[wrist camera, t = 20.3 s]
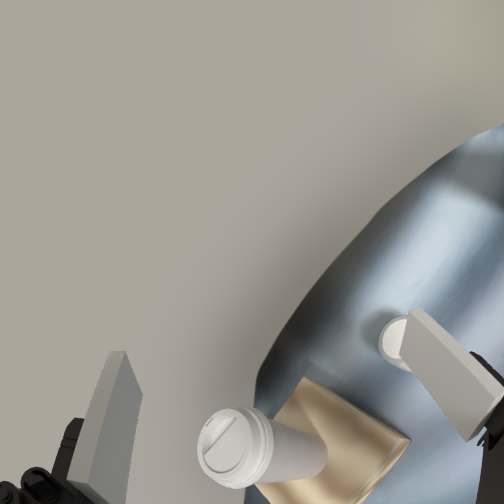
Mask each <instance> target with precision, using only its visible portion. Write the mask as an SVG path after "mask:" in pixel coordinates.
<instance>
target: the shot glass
mask: <svg viewBox="0 0 504 504" xmlns="http://www.w3.org/2000/svg"><path fill="white" fill-rule="evenodd" d="M407 318H408V315H402V316H398V317H395V318H394V319H392V320H391V321H390V322H388V323H387V324H386V325H385V327H384V328H383V330H382V331H381V333H380V336H379V339H378V350H379V352H380V354H381V356H382V357H383V358H384V359H385V360H386V361H388V362H389V363H391V364H393V365H395V366H397V367H399V368H401V369H403V370H405V371H409V372H412V371H411V369H410V368H409V367H408V366H407V364H406V363H405V362H404V361H403V360H402V358H401V357H400V356H399V351H400V347H401V343H402V339H403V335H404V331H405V327H406V322H407Z"/></svg>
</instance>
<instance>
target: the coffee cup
mask: <svg viewBox="0 0 504 504" xmlns="http://www.w3.org/2000/svg"><path fill="white" fill-rule="evenodd" d="M197 449H198V450H197V453H198V459H199V463H200V465H201V467H202V469H203V471H204V472H205V473H206V474H207V475H208V476H210V477H211V478H212V479H214V480H215V481H216V482H218V483H220V484H221V485H223V486H226V487H229V488H234V489H240V488H244V487H247V486H250V485H251V484H261V483H273V482H283V481H292V480H300V479H307V478H311V477H314V476H316V475H317V474H319V473H320V472H321V471H322V470H323V468H324V467H325V465H326V463H327V459H328V450H327V447H326V444H325V443H324V442H323V440H322V439H320V438H319V437H317V436H314V435H311V434H308V433H305V432H302V431H300V430H297V429H294V428H292V427H289V426H286V425H284V424H281V423H279V422H276V421H274V420H271V419H269V418H266V416H265V415H264V414H263V413H262V412H261V411H259V410H258V409H256V408H254V407H250V406H236V407H231V408H229V409H223V410H220V411H218V412H217V413H215V414H214V415H212V417H210V418H209V420H208V421H207V422H206V424H205V425H204V427H203V429H202V431H201V433H200V436H199V440H198V447H197Z"/></svg>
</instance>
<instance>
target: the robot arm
mask: <svg viewBox="0 0 504 504" xmlns="http://www.w3.org/2000/svg"><path fill="white" fill-rule="evenodd" d="M399 356H400V357H401V358H402V360H403V361H404V362H405V363H406V364H407V366H408V367H409V368H410V369H411V371H412V372H413V373H414V374H415V376H416V377H417V378H418V380H419V381H420V382H421V383H422V385H423V386H424V387H425V388H426V390H427V391H428V392H429V394H430V395H431V396H432V397H433V399H434V400H435V401H436V403H437V404H438V405H439V407H440V408H441V409H442V411H443V412H444V413H445V415H446V416H447V417H448V419H449V420H450V421H451V423H452V424H453V425H454V427H455V428H456V429H457V431H458V432H459V433H460V435H461V436H462V438H463V439H464V440H465V442H468V441H469V440H471V439H472V438H474V437H475V436H477V435H478V434H479V433H480V431H481V430H482V428H483V427H484V426H485V427H486V429H487V430H486V432H485V433H484V434H483V436H482V437H481V438H480V440H479V441H478V443H477V446H479V445H480V444H481V442H482V441H483V440H484V443H483V444H482V446H484V448H483V459H482V468H481V475H480V482H479V488H478V494H477V499H476V504H504V378H503V377H502V376H501V375H500V374H499V373H498V372H497V371H496V370H495V369H493V367H492V366H491V365H490V364H487V362H486V361H485V360H484V359H483V358H482V357H481V356H480V355H478V354H476V353H474V352H472V351H471V352H468V351H467V350H466V349H465V348H464V347H463V346H462V345H461V344H460V343H458V342H457V341H456V340H455V339H454V338H453V337H452V336H451V335H450V334H449V333H448V332H447V331H446V330H444V329H443V328H442V327H441V326H440V325H439V324H438V323H437V322H436V321H435V320H433V319H432V318H431V317H430V316H429V315H428V314H427V313H426V312H425V311H423V310H422V309H421V308H419V309H415V310H411V311H409V313H408V318H407V322H406V327H405V331H404V335H403V339H402V343H401V347H400V351H399ZM142 396H143V394H142V392H141V389H140V387H139V384H138V382H137V380H136V377H135V375H134V372H133V370H132V367H131V365H130V362H129V360H128V357H127V354H126V352H125V351H110V353H109V355H108V357H107V360H106V362H105V365H104V367H103V370H102V373H101V375H100V378H99V381H98V383H97V386H96V388H95V391H94V394H93V396H92V399H91V402H90V405H89V408H88V410H87V414H86V417H85V419H82V418H74V419H73V420H72V421H71V422H70V423H69V425H68V426H67V428H66V430H65V433H64V436H63V439H62V441H61V444H60V446H61V447H60V448H59V451H58V453H57V456H56V459H55V463H54V466H53V469H52V473H51V474H50V473H49V472H48V471H47V470H45V469H43V468H40V467H33V468H30V469H28V470H27V471H25V473H24V474H23V476H22V478H21V489H18V488H17V487H16V486H15V485H14V484H12V483H10V482H8V481H2V482H0V504H125V500H126V492H127V484H128V477H129V470H130V463H131V457H132V450H133V444H134V438H135V432H136V426H137V421H138V416H139V411H140V406H141V400H142Z"/></svg>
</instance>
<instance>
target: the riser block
mask: <svg viewBox="0 0 504 504" xmlns="http://www.w3.org/2000/svg"><path fill="white" fill-rule="evenodd" d="M273 420H274V421H276V422H279V423H281V424H284V425H286V426H289V427H292V428H294V429H297V430H300V431H302V432H305V433H308V434H311V435H314V436H317V437H319V438H320V439H322V440H323V442H324V443H325V444H326V447H327V450H328V459H327V463H326V465H325V467H324V468H323V470H322V471H321V472H320V473H319V474H317V475H316V476H314V477H311V478H307V479H300V480H292V481H283V482H273V483H261V484H255V485H256V486H257V488H258V489H259V490H260V491H261V492H262V494H263V495H264V496H265V497H266V498H267V499H268V501H269V502H270V503H271V504H361V503H362V502H363V501H364V500H365V498H366V497H367V496H368V495H369V494H370V493H371V492H372V491H373V489H374V488H375V487H376V486H377V485H378V484H379V482H380V481H381V480H382V479H383V478H384V476H385V475H386V474H387V473H388V471H389V470H390V469H391V468H392V466H393V465H394V464H395V462H396V461H397V460H398V459H399V457H400V456H401V454H402V453H403V452H404V450H405V449H406V448H407V446H408V445H409V443H410V442H411V439H409V438H408V437H406V436H404V435H402V434H401V433H399V432H397V431H395V430H394V429H392V428H390V427H389V426H387V425H385V424H384V423H382V422H380V421H379V420H377V419H376V418H374V417H372V416H371V415H369V414H367V413H366V412H364V411H363V410H361V409H359V408H358V407H356V406H355V405H353V404H352V403H350V402H349V401H347V400H345V399H344V398H342V397H341V396H339V395H338V394H336V393H335V392H333V391H332V390H330V389H329V388H327V387H325V386H323V385H321V384H318V383H316V382H314V381H312V380H310V379H307V378H305V377H303V378H302V379H301V381H300V382H299V384H298V385H297V387H296V388H295V390H294V391H293V392H292V394H291V395H290V397H289V398H288V399H287V401H286V402H285V404H284V405H283V406H282V408H281V409H280V411H279V412H278V413H277V415H276V416H275V417H274V419H273Z"/></svg>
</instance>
